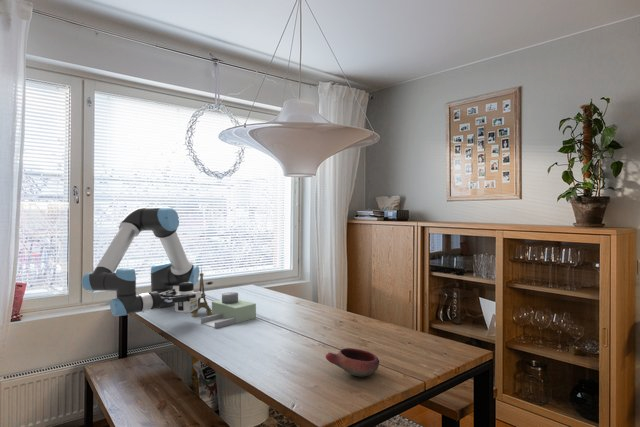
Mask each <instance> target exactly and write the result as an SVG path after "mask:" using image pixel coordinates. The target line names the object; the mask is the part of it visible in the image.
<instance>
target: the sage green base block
mask: <svg viewBox="0 0 640 427" xmlns="http://www.w3.org/2000/svg"><path fill="white" fill-rule="evenodd" d="M211 310H212V315H210V316H208V315H207V316H204V317H201V318H200V323H201V324H202V325H205V326H208V327H211V328H215V329H218V328H222V327H227V326H231V325H233V324H237V323H241V322H245V321H248V320H253V319H256V318H257V304H256V303H254V302H251V301H247V300H242V299H239V293H238V292H235V291H231V292H230V291H229V292H224V293H222V294H221V299H219V300H214V301H211Z"/></svg>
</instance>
